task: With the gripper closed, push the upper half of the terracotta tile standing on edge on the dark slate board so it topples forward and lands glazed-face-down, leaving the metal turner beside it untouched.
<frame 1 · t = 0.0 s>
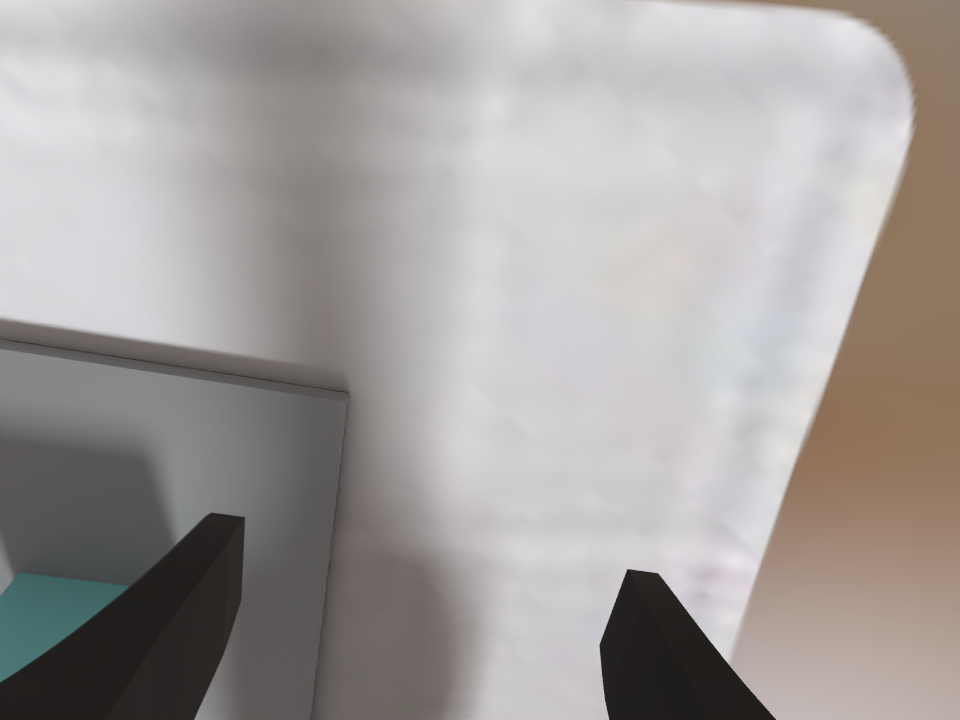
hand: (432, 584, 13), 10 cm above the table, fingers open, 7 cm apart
tile: (105, 598, 25), point 1 cm above the table, touching board
board: (111, 567, 25), on the table
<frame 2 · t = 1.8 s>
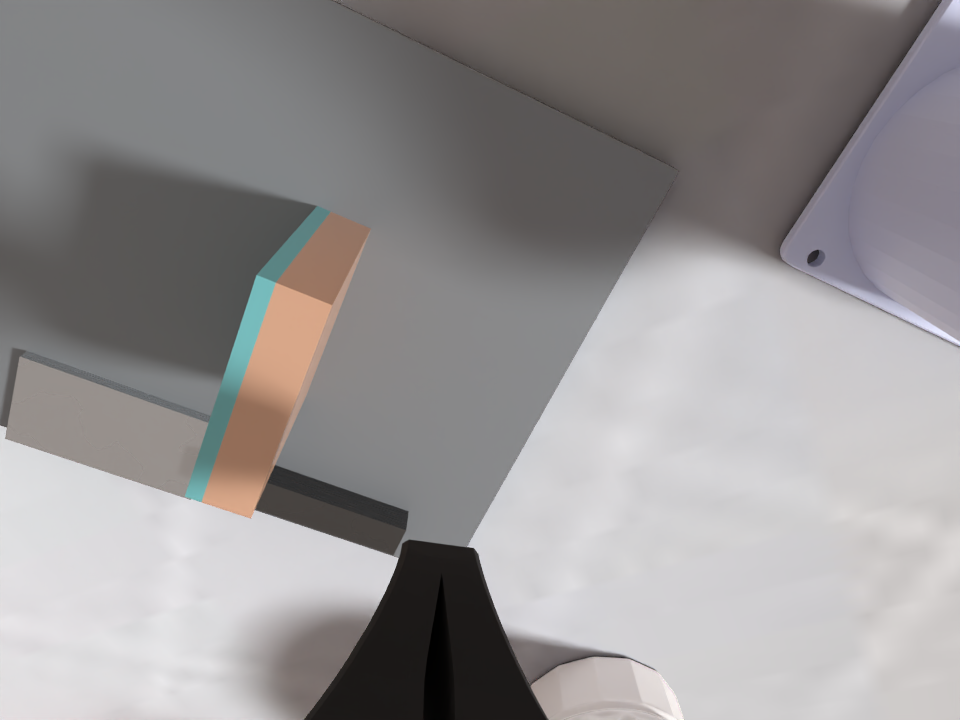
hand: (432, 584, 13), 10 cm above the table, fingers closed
white cup: (596, 704, 29), on the table
tile: (311, 307, 20), point 1 cm above the table, touching board
turner: (221, 461, 23), point 1 cm above the table, touching board
board: (283, 288, 21), on the table
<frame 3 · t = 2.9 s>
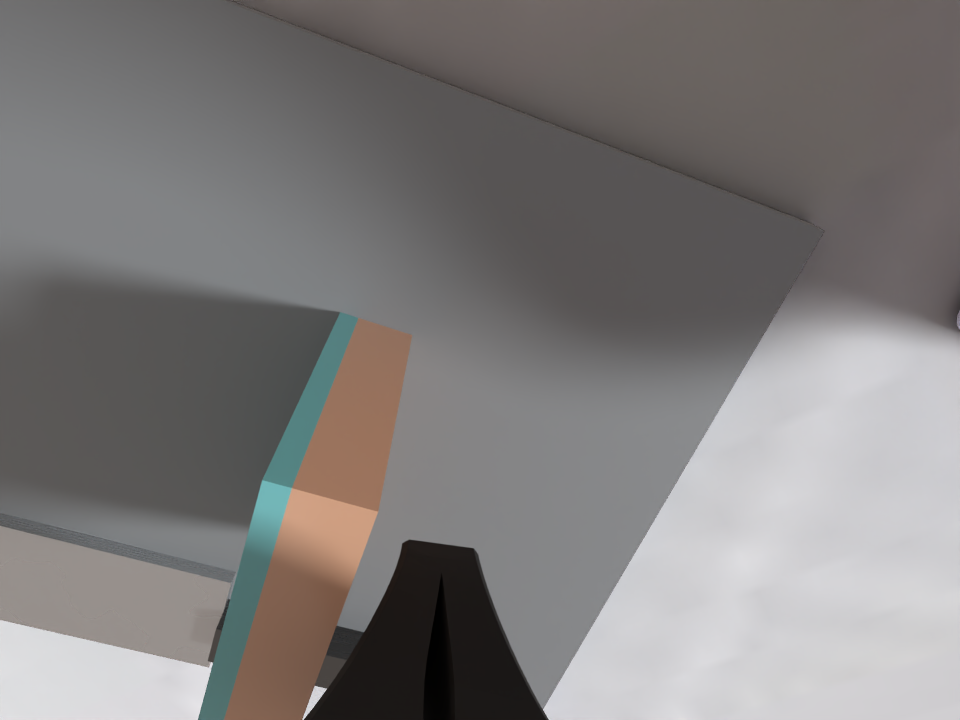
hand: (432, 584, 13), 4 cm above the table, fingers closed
tile: (340, 436, 16), point 1 cm above the table, touching board
turner: (243, 619, 18), point 1 cm above the table, touching board
board: (304, 410, 16), on the table
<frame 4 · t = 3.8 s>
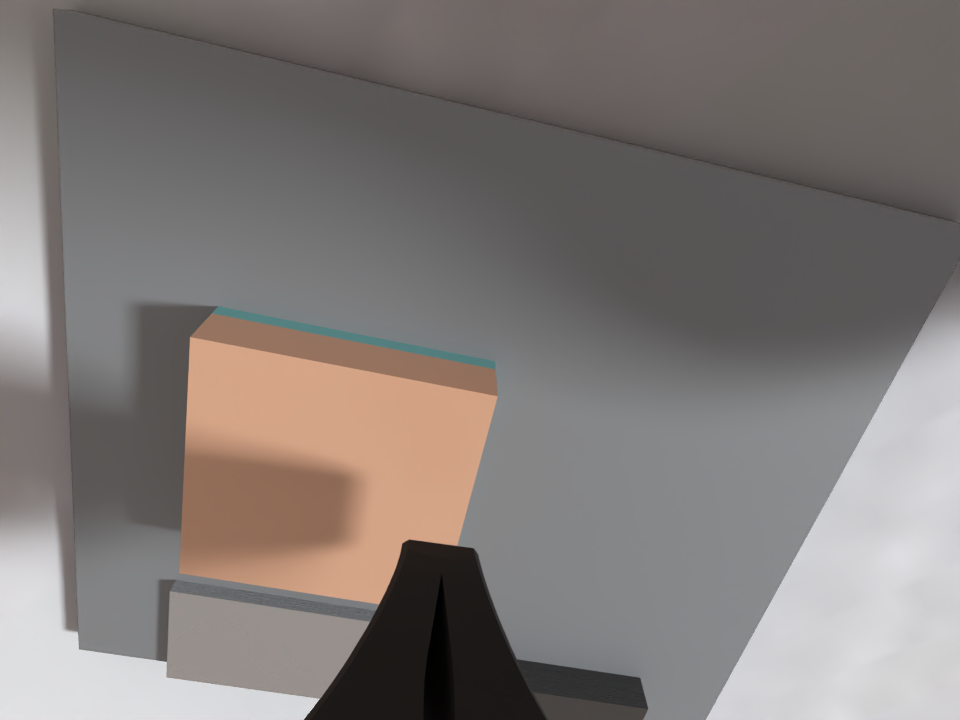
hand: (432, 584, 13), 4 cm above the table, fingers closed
tile: (465, 491, 16), point 1 cm above the table, tilted 90°, touching board
turner: (412, 659, 19), point 1 cm above the table, touching board
board: (461, 456, 17), on the table
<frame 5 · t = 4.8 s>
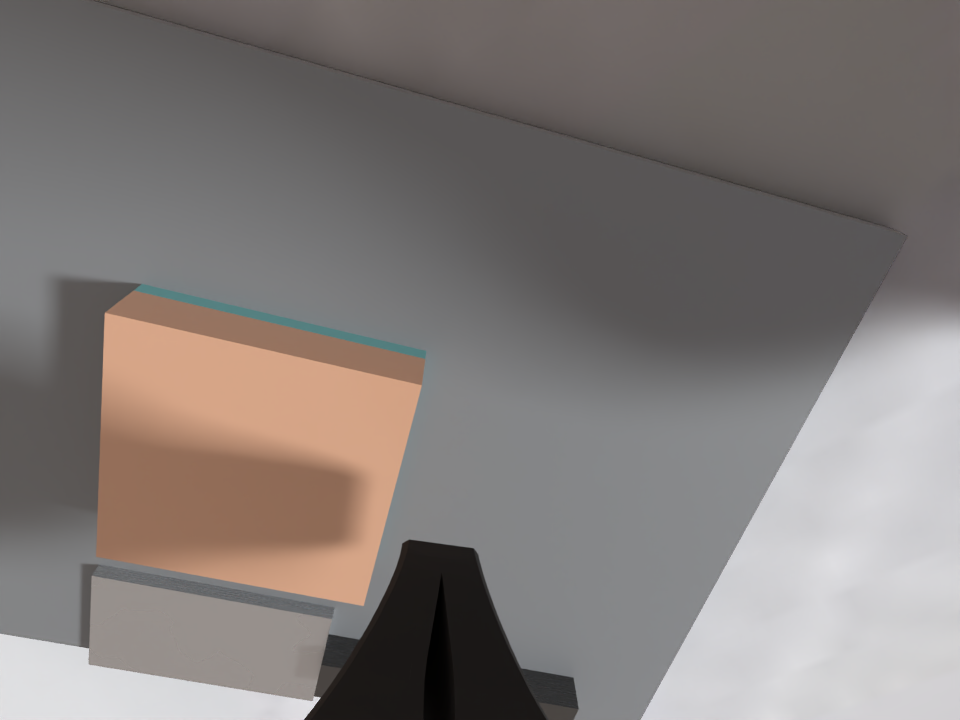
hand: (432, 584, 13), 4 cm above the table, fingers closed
tile: (393, 482, 15), point 1 cm above the table, tilted 90°, touching board
turner: (342, 652, 19), point 1 cm above the table, touching board
board: (394, 447, 17), on the table
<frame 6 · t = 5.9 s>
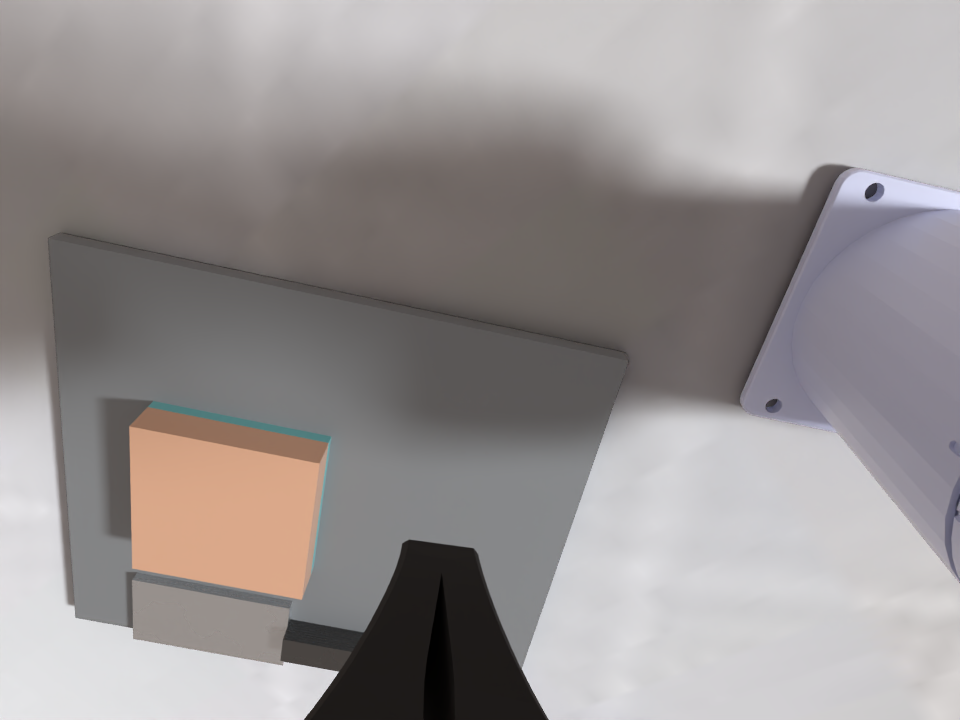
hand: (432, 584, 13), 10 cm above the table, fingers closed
tile: (316, 520, 24), point 1 cm above the table, tilted 90°, touching board
turner: (301, 631, 27), point 1 cm above the table, touching board
board: (322, 494, 25), on the table
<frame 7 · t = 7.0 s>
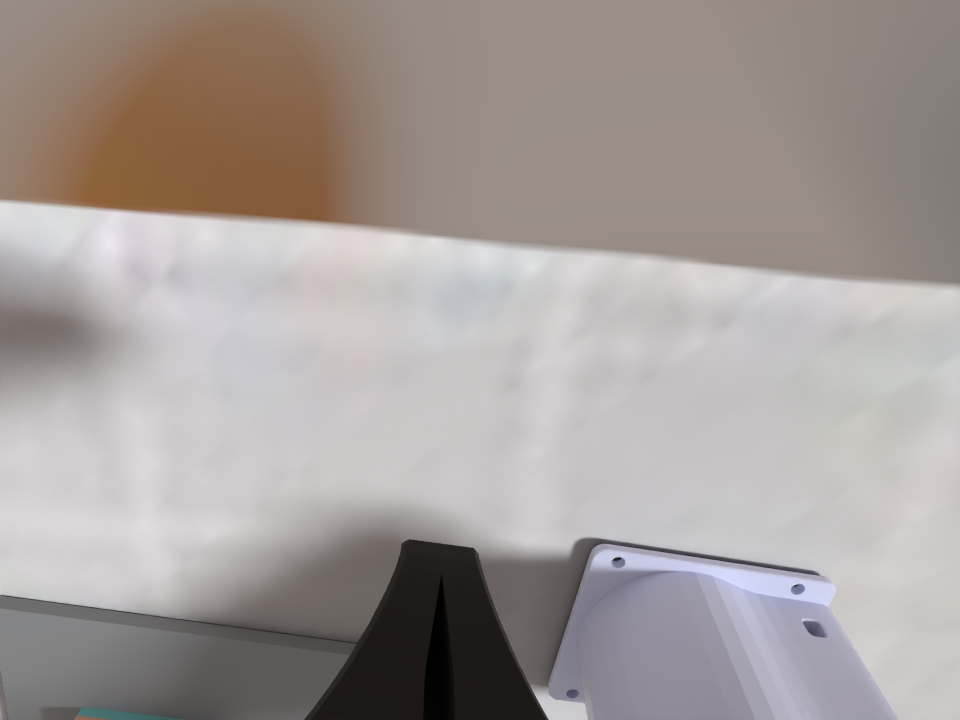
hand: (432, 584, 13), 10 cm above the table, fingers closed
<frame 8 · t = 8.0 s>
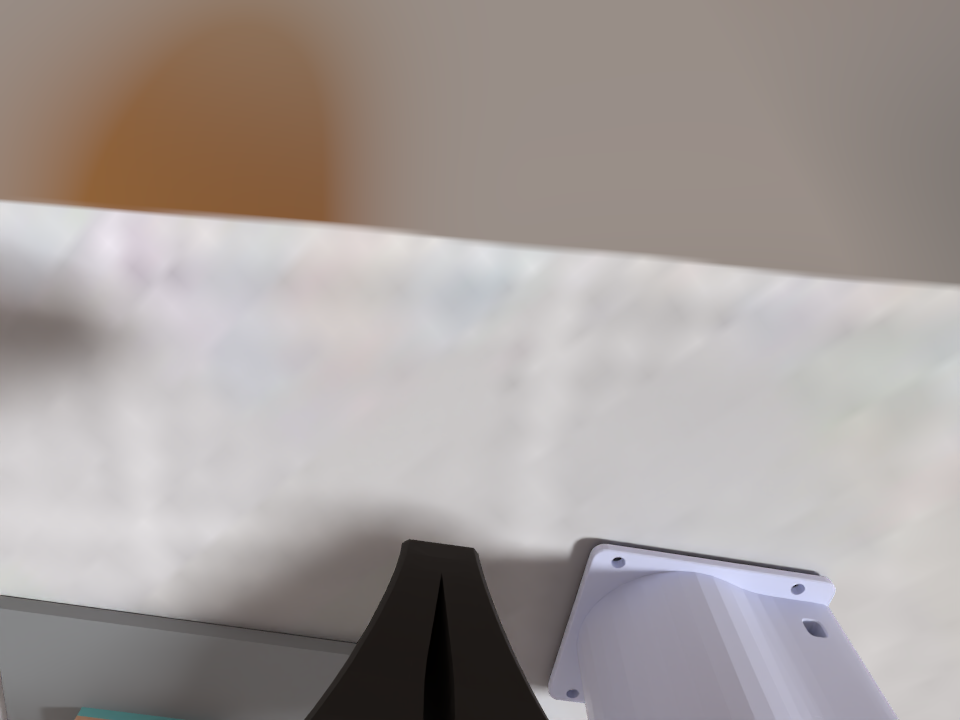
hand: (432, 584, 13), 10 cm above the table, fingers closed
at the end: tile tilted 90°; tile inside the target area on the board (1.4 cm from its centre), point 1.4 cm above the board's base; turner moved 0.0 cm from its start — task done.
